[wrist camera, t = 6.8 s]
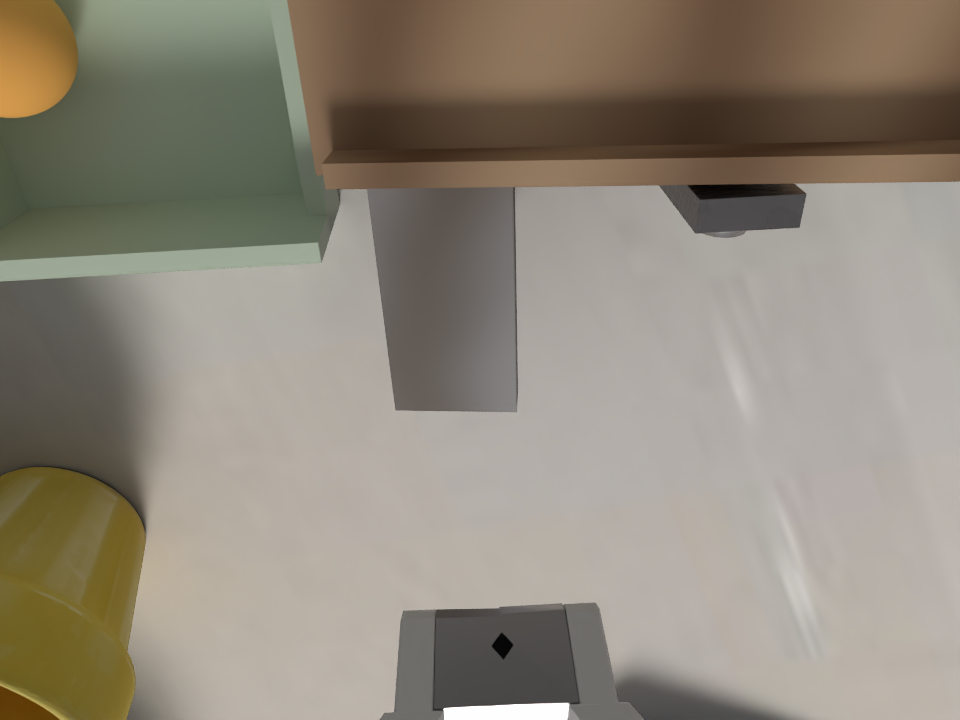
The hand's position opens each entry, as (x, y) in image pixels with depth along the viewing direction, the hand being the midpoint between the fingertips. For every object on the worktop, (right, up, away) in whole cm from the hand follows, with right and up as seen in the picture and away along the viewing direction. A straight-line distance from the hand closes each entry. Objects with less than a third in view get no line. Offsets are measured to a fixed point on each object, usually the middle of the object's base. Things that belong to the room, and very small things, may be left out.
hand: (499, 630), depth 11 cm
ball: (-13, +12, +7) cm, 19 cm away
